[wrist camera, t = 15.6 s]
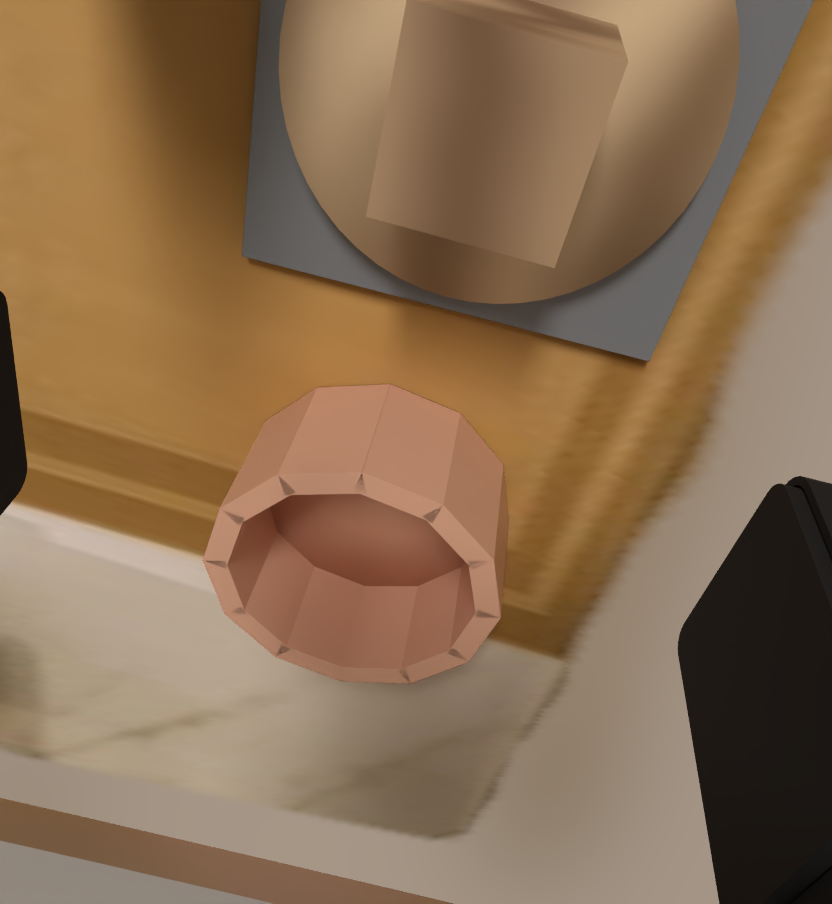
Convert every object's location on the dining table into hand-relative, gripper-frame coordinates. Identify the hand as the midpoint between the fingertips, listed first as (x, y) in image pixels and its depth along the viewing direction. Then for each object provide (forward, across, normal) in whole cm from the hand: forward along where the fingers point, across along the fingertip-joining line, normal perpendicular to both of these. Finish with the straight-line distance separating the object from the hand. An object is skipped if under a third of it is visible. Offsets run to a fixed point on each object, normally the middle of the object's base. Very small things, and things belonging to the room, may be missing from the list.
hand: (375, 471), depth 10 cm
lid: (+20, -1, 0) cm, 20 cm away
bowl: (+20, 0, +18) cm, 27 cm away
